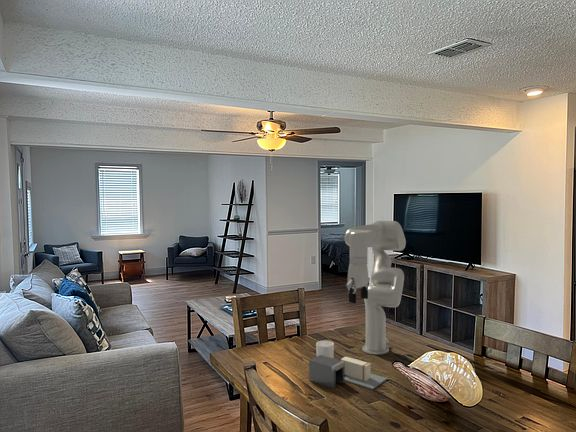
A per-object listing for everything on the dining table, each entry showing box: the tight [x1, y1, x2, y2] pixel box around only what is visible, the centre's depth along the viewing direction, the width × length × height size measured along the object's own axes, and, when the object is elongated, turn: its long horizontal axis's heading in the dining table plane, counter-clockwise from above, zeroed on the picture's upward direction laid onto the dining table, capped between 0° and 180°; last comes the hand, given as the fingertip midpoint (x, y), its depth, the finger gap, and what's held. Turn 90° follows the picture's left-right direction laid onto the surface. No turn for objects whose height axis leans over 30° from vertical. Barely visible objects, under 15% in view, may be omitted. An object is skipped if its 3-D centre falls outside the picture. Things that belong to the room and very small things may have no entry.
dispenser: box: [308, 355, 346, 390], centre depth 176 cm, size 8×12×9 cm, turn 50°
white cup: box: [315, 340, 335, 359], centre depth 193 cm, size 8×8×10 cm
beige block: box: [339, 356, 372, 381], centre depth 180 cm, size 4×12×6 cm, turn 50°
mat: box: [345, 373, 388, 391], centre depth 178 cm, size 12×14×1 cm
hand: (358, 300), depth 186 cm, fingers open, 9 cm apart
